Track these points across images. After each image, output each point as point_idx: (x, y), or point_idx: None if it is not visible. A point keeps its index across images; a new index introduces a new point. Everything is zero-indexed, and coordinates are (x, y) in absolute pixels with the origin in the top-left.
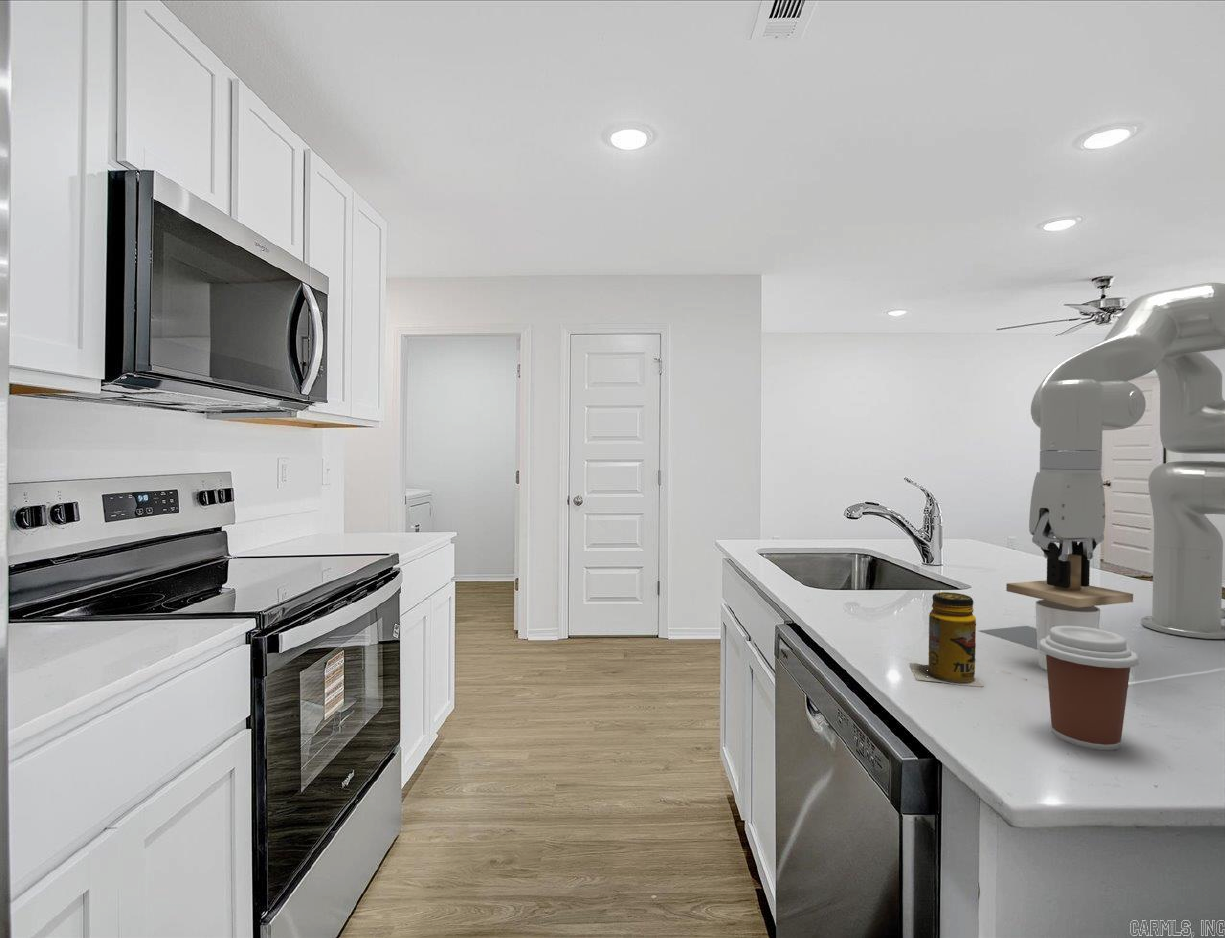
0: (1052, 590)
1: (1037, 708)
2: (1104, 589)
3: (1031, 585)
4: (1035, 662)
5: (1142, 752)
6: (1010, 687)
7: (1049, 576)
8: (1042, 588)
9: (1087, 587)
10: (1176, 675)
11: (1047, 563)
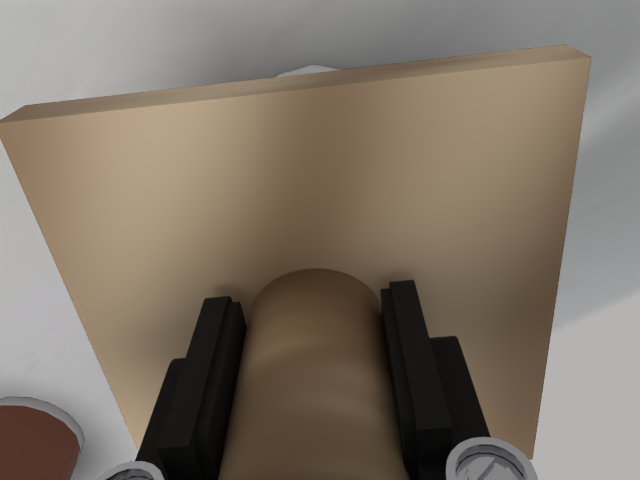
0: (174, 349)
1: (23, 333)
2: (510, 375)
3: (146, 219)
4: (295, 35)
5: (91, 475)
6: (36, 222)
7: (170, 372)
8: (154, 300)
9: (473, 323)
10: (623, 228)
11: (171, 409)
